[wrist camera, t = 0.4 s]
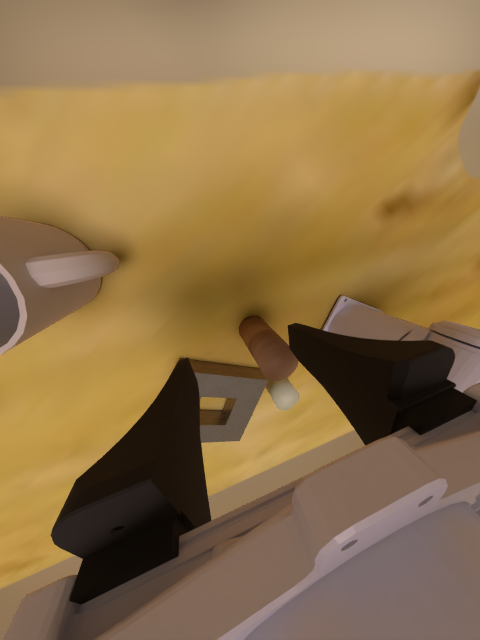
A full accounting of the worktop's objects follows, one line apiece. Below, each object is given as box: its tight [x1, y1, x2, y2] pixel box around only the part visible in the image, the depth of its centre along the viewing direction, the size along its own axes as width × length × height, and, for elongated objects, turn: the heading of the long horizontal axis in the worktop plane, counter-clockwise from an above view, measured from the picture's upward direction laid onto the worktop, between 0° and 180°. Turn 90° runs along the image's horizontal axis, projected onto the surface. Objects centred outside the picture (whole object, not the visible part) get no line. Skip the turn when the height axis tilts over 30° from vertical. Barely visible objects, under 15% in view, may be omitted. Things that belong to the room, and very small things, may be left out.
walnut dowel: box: [239, 316, 298, 381], centre depth 19 cm, size 4×4×8 cm
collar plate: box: [179, 358, 268, 443], centre depth 25 cm, size 12×12×2 cm
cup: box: [0, 216, 119, 355], centre depth 11 cm, size 7×10×9 cm
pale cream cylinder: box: [266, 378, 299, 410], centre depth 26 cm, size 4×4×4 cm
